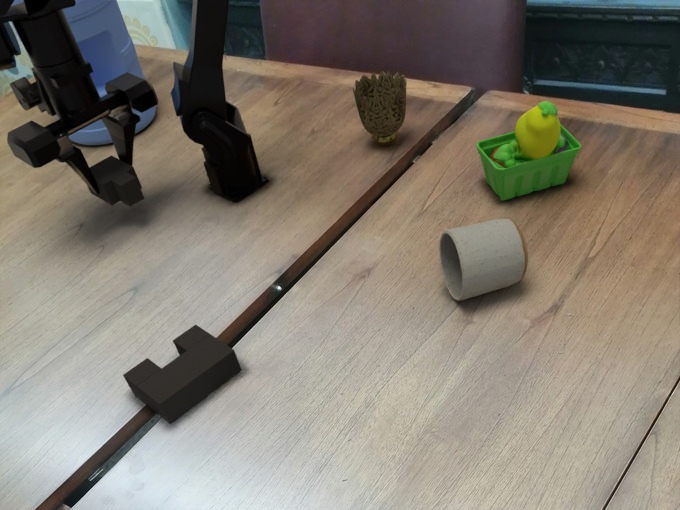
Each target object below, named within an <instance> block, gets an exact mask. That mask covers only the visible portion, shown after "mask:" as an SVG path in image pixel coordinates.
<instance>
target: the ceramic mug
mask: <svg viewBox="0 0 680 510" xmlns="http://www.w3.org/2000/svg"><path fill="white" fill-rule="evenodd" d="M438 249H439V259H440V260H439V261H440V266H441V271H442V275H443V280H444V283H445V286H446V287H447V289H448V292H449V294H450V295H451V297H452V298H453V299H454V300H455V301H457V302H461V301H464V300H467V299H471V298H475V297H477V296H481V295H484V294H488V293H491V292H494V291H497V290H501V289H504V288H508V287H510V286H513V285H514V284H518V282H520V281H521V280H522V279H523V278H524V277H525V275H526V273H527V270H528V265H529V253H528V245H527V241H526V238H525V234H524V232H523V230H522V229H521V227H520V225H519V224H518V223H517V222H516V221H515V220H513V219H512V218H495V219H494V218H493V219H490V220H487V221H482V222H477V223H472V224H467V225H462V226H456V227H452V228H447V229H445V230H443V231H442V233H441V234H440V239H439V247H438Z"/></svg>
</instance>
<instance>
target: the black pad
mask: <svg viewBox="0 0 680 510" xmlns="http://www.w3.org/2000/svg"><path fill="white" fill-rule="evenodd" d="M89 168H90V170H91V172H92V174H93V176H94V178H95V180H96V182H97V185H98V189H99V192H100V193H99V194H96V193H94V192H93V191H92V190H91V189H90V187H89V186H88V185H87V184H86V186H87V189H88V190H89V192H90V194H92V195H93V196H95V197H97V198H98V199H100V200H102V201H104V203H107V204H108V205H110V206H115V205H116V204H118V203H120V202H121V203H122V204H124V205H126V206H128V207H130V208H131V207H134V206H135V205H136V204H138V203H140V202H142V201H143V200H145V199H146V198H145V195H144V193H143V191H142V189H143V187H142V184H141V181H140V179H139V177H138V174H137V171H136V170H135V168H134V166H133V167H132V166H131V165H129V164H127V163H125V162H123V161H121V160H119V158H118V157H115V156H114V155H109V156H108V157H106V158H104V159H102V160H100V161H98V162H97V163H95V164H93V165H91V166H89Z"/></svg>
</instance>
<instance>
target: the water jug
mask: <svg viewBox="0 0 680 510" xmlns="http://www.w3.org/2000/svg"><path fill="white" fill-rule="evenodd" d="M75 1H76V4H75V6H73V7H69V8H65V9H63V11H64V13H65V16H66V18H67V20H68V23H69V25H70V28H71V30H72V32H73V35H74V37H75V39H76V42H77V44H78V46H79V49H80V51H81V53H82V56H83V58H84V60H85V61H87V62H89V63H90V64H91V67H92V69H93V72H92V73H90V75H91V77H92V79H93V82H94V84H95V86H96V89H97V91H98V94H99V96H100V97H102V96H104V95H106V94H107V93H106V90H105V83H106V82H108V81H110V80H112V79H114V78H116V77H118V76H120V75H122V74H124V73H126V72H128V73H130V74H132V75H135V76H137V77H140V78H142V79H144V80H146V77H145V74H144V72H143V69H142V66H141V63H140V61H139V58H138V54H137V50H136V49H137V48H136V47H135V44H134V41H133V39H132V36H131V35H130V33H129V30H128V27H127V25H126V22H125V20H124V17H123V14H122V11H121V8H120V6H119V4H118V1H117V0H75ZM22 2H24V0H14V2H13V3H12V5H11V6H13V5H16V4H19V3H22ZM9 23H11V25H12V28H13V30H14V32H15V34H16V35H17V38H18V39H19V41H20V42H21V39H20V37H19V35H18V33H17V31H16V29H15V27H14V25H13V23H12V21H10V22H9ZM132 111H133V113H135V114H137V115H139V116H140V119H141V121H140V122H138V123H137V124H136V129H135V135H136V134H138V133H139V132H141V131H143V130H144V129H145V128H146V127H147V126H148V125H150V124H151V122H152V121H153V120H154V118H155V115H156V111H157V105H156V106H154V107H152V108H150V109H148V110H146V111H144V112H143V113H141V112H139V111H137V110H135V109H133V108H132ZM55 117H56V119H57V120H59V118H58V116H57V115H55ZM68 137H69V139H70V141H71V142H73V143H76V144H79V145H84V146H100V145H101V146H103V145H107V144H113V141H112V139H111V136H110V133H109V131H108V129H107V128H106V126H105V124H104V123H103V121H102V120H101V119H100V120H98V121H96V122H94V123H92V124H90V125H89V126H87V127H85V128H83V129H81V130H79V131H77V132H75V133H73V134H72V135H70V136H68Z"/></svg>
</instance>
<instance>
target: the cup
mask: <svg viewBox="0 0 680 510" xmlns="http://www.w3.org/2000/svg"><path fill="white" fill-rule="evenodd" d="M354 86H355V88H352V92H353V96H354V100H355V105H356V108H357V113H358V116H359V119H360V122H361V125H362V127H363V128H364V129H365V131H366V132H367V133H369V134H370V135H372V141H373V142H374V144H375V145H377V146H380V147H388V146H392V145H394V144H395V143H396V142H397V140H398V136H399V133H398V131H399V130H401V128H402V126H403V125H404V122H405V120H406V112H407V86H408V85H407V79H406V77H405V74H402V75H400V74H399V72H398V71H397V72H396V73H395V74H392V72H391V71H389V70H388V71H387V72H384V71H383V70H381V71H380V73H379V75H378V77H377V74H376V72H372V74H371V76H370V77H369V76H367V75H365V74H362V75H361V77H360V78H359V80H357V79H355V81H354Z"/></svg>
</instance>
